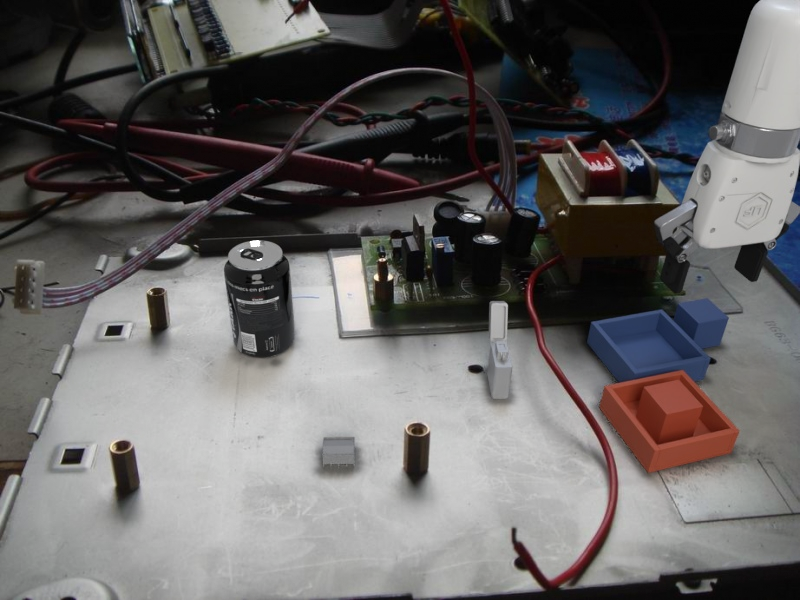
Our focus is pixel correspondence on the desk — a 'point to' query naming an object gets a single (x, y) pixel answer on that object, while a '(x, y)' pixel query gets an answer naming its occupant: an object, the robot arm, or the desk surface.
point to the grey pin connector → (339, 450)
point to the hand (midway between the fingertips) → (707, 280)
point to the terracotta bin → (707, 441)
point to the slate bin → (646, 347)
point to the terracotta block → (668, 411)
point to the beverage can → (260, 299)
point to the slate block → (701, 322)
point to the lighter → (499, 351)
